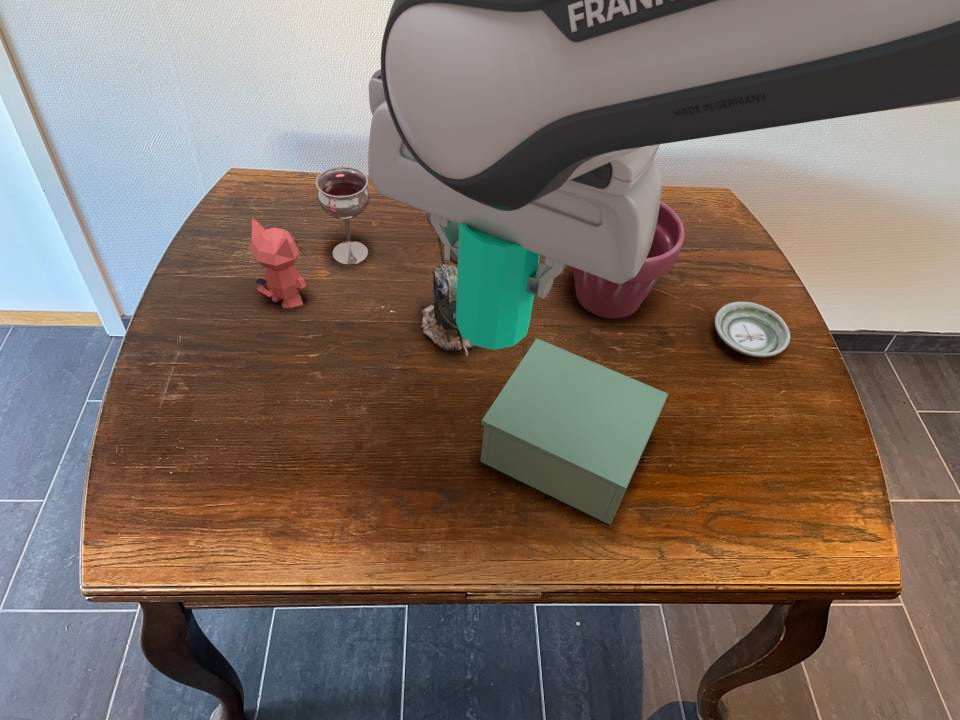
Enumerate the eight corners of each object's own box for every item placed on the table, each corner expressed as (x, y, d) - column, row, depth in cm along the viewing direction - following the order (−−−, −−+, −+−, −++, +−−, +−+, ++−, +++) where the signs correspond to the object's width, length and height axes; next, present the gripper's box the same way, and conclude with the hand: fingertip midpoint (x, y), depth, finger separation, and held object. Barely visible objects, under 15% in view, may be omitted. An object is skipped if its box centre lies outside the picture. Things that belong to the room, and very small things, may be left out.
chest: (610, 525, 73) (626, 488, 67) (480, 461, 77) (484, 421, 71) (648, 438, 80) (666, 398, 74) (528, 385, 84) (535, 342, 78)
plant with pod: (421, 367, 85) (419, 242, 70) (420, 302, 92) (418, 176, 77) (486, 366, 86) (499, 242, 71) (480, 301, 93) (490, 176, 78)
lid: (624, 492, 66) (626, 488, 66) (480, 425, 70) (481, 420, 70) (666, 398, 74) (668, 393, 74) (535, 342, 78) (536, 337, 78)
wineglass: (332, 273, 95) (322, 202, 86) (321, 242, 99) (309, 171, 90) (380, 262, 97) (374, 192, 88) (367, 233, 101) (360, 162, 92)
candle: (526, 295, 58) (544, 173, 49) (533, 349, 54) (553, 228, 45) (455, 295, 57) (459, 172, 48) (456, 349, 54) (460, 226, 44)
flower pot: (545, 317, 92) (558, 243, 82) (567, 251, 101) (582, 177, 91) (651, 345, 90) (678, 272, 80) (665, 275, 99) (691, 202, 89)
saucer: (756, 306, 96) (762, 294, 94) (798, 358, 90) (806, 345, 88) (696, 320, 93) (701, 308, 91) (735, 374, 87) (741, 362, 85)
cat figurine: (323, 296, 92) (311, 225, 83) (285, 325, 88) (268, 254, 79) (285, 273, 95) (270, 201, 85) (247, 301, 91) (226, 229, 82)
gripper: (339, 77, 42) (357, 251, 53) (659, 182, 37) (609, 352, 47) (394, 37, 46) (401, 207, 56) (692, 128, 40) (638, 296, 51)
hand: (498, 274), depth 52 cm, fingers closed on candle, 5 cm apart
